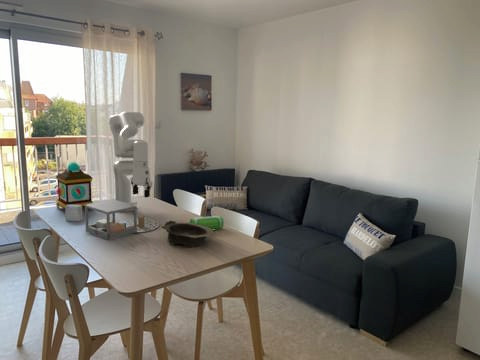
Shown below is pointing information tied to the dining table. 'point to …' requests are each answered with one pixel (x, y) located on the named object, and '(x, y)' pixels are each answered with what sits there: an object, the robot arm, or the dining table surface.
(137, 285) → the dining table surface
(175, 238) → the stone bowl
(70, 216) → the medicine box
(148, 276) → the dining table surface
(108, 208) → the lane shelf
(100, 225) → the sage block
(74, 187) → the decorative lantern
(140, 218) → the tied block
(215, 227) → the green tapered cylinder
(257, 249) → the dining table surface
